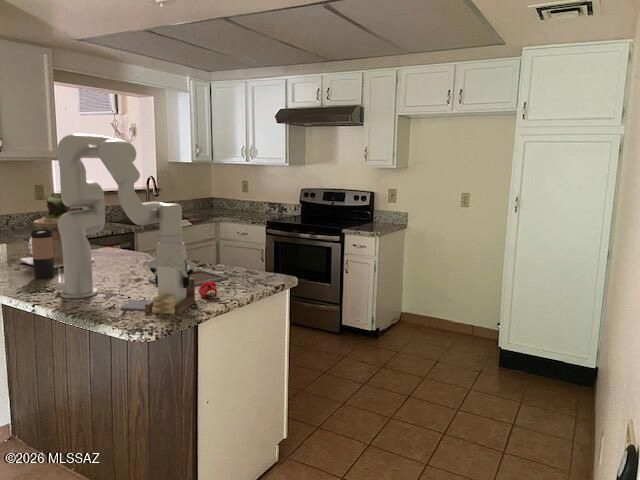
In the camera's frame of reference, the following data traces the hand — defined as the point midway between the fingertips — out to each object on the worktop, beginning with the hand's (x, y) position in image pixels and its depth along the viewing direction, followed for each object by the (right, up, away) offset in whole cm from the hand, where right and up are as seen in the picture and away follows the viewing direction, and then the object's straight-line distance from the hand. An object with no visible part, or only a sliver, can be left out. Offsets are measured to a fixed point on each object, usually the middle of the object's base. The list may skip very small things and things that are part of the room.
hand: (172, 286), depth 172 cm
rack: (0, -7, -1) cm, 7 cm away
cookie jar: (-75, +5, +63) cm, 98 cm away
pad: (-12, -7, 0) cm, 14 cm away
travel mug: (-65, 0, +35) cm, 74 cm away
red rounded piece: (+9, -5, +14) cm, 18 cm away
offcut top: (-1, -4, -5) cm, 7 cm away
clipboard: (-5, -2, +36) cm, 37 cm away
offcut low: (-1, -9, -5) cm, 10 cm away
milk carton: (0, -7, +1) cm, 7 cm away
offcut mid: (-1, -6, -5) cm, 8 cm away
